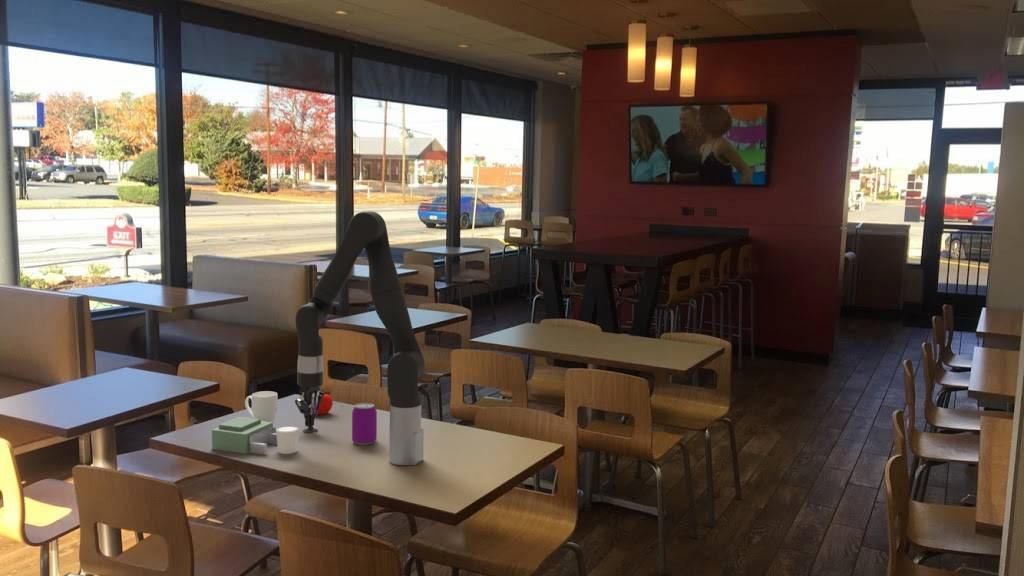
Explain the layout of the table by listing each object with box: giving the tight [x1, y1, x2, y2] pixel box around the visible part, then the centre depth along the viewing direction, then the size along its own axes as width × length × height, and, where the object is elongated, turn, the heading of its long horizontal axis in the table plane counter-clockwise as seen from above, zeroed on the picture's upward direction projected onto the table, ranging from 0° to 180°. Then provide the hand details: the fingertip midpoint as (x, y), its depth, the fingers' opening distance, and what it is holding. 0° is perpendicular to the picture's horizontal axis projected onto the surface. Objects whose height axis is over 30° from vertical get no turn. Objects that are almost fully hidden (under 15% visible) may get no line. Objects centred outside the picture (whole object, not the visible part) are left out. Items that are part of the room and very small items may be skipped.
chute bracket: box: [248, 427, 277, 456], centre depth 255 cm, size 6×11×5 cm, turn 162°
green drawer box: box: [211, 416, 274, 454], centre depth 258 cm, size 12×14×7 cm
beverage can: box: [351, 402, 378, 446], centre depth 264 cm, size 8×8×12 cm
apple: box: [317, 393, 334, 415], centre depth 296 cm, size 8×8×7 cm
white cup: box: [275, 425, 300, 455], centre depth 253 cm, size 7×7×7 cm
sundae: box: [302, 410, 319, 434], centre depth 274 cm, size 7×7×15 cm
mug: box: [244, 390, 279, 423], centre depth 278 cm, size 12×8×11 cm
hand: (309, 425), depth 250 cm, fingers closed
